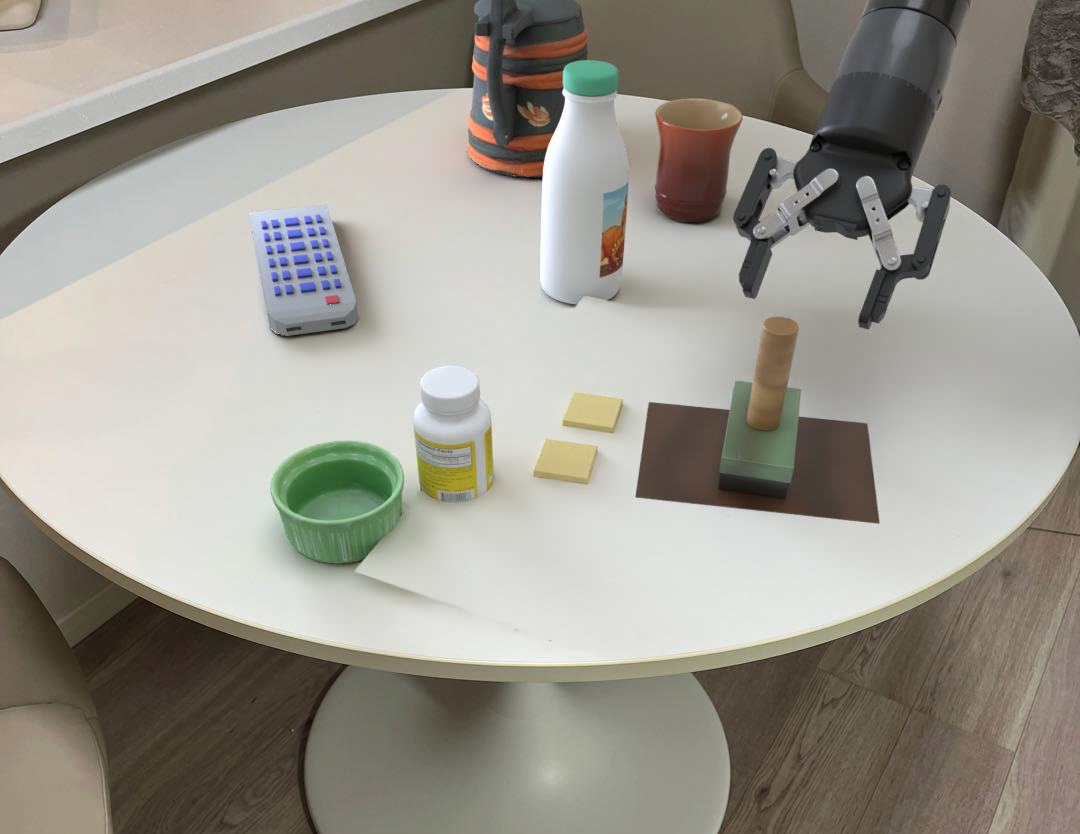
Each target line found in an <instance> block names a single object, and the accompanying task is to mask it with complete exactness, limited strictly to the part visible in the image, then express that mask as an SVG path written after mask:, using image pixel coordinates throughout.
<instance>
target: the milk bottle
mask: <svg viewBox="0 0 1080 834" xmlns="http://www.w3.org/2000/svg"><path fill="white" fill-rule="evenodd" d="M618 86H619V69H618V68H617V66H615V64H612V63H609V62H607V61H602V60H595V59H589V60H583V61H576V62H572V63H569V64H568V65H566V66H565V68H564V71H563V87H564V89H563V92H562V93H563V95H564V96H565V105H564V109H563V113H562V116H561V119H560V122H559V124H558V126H557V128H556V131H555V133H554V135H553V137H552V139H551V141H550V143H549V146H548V149H547V152H546V156H545V161H544V168H543V177H542V182H541V183H542V185H541V214H540V215H541V216H540V253H539V256H540V257H539V259H540V260H539V261H540V262H539V265H540V266H539V268H540V269H539V282H540V285H541V288H542V290H543V292H544V293H545V294H546V295H548V296H549V297H551V298H552V299H553V300H556V301H559V302H561V303H566V304H570V305H578V304H579V303H580V302H581V301H582V299H583V298H584V297H585V296H586V297H589V298H594V299H598V300H602V301H608V300H610V299H612V298H613V297H615V296H616V295H617V293H618V292H619V291H620V289H621V286H622V280H623V279H622V277H623V268H624V266H623V265H624V255H625V254H624V253H625V242H626V228H627V227H626V226H627V216H628V215H627V213H628V199H629V182H630V181H629V179H630V176H629V175H630V169H629V168H630V167H629V156H628V152H627V149H626V148H627V147H626V144H625V141H624V139H623V136H622V133H621V131H620V128H619V124H618V121H617V116H616V111H615V99H616V98H617V96H618Z"/></svg>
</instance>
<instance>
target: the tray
mask: <svg viewBox="0 0 1080 834" xmlns="http://www.w3.org/2000/svg"><path fill="white" fill-rule="evenodd" d="M729 412H730V409H727V408H715V407H707V406H705V407H704V406H696V405H695V406H694V405H686V404H685V405H684V404H674V403H664V402H656V401H655V402H654V401H649V402H648V405H647V413H646V418H645V426H644V432H643V440H642V448H641V454H640V460H639V461H640V462H639V469H638V475H637V483H636V488H635V497H634V498H637V499H646V500H653V501H654V500H655V501H663V502H664V501H665V502H674V503H683V504H690V505H691V504H693V505H703V506H710V507H711V506H712V507H719V508H728V509H729V508H730V509H738V510H747V511H755V512H756V511H758V512H765V513H776V514H785V515H794V516H804V517H812V518H821V519H830V520H831V519H832V520H841V521H849V522H850V521H851V522H860V523H869V524H870V523H871V524H877V525H878V524H880V515H879V507H878V500H877V491H876V484H875V475H874V467H873V459H872V451H871V444H870V435H869V427H868V423H867V422H858V421H849V420H848V421H847V420H839V419H829V418H828V419H827V418H819V417H818V418H816V417H808V416H807V417H806V416H799V419H798V430H797V441H796V452H795V463H794V471H793V475H792V480H791V483H789V486H788V491H787V495H786V499H781V498H774V497H768V496H761V495H755V494H748V493H741V492H735V491H728V490H722V489H718V486H719V479H720V472H719V470H720V464H721V458H722V452H723V446H724V440H725V435H726V429H727V423H728V418H729Z"/></svg>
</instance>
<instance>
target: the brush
mask: <svg viewBox="0 0 1080 834" xmlns="http://www.w3.org/2000/svg"><path fill="white" fill-rule="evenodd" d="M799 328H800V326H799V324H798V323H797V322H796V321H795V320H793V319H792V318H788V317H784V316H772V317H771V316H770V317H768V318H766V319H765V320H764V321H763V323H762V328H761V332H760V333H761V334H760V338H759V345H758V349H757V350H758V351H757V356H756V363H755V368H754V374H753V380H752V381H751V382H749V381H745V380H744V381H743V380H734V384H733V389H732V395H731V400H730V401H731V402H730V408H729V410H730V412H729V418H728V423H727V429H726V435H725V440H724V446H723V452H722V458H721V464H720V470H719V472H720V479H719V486H718V489H722V490H728V491H735V492H741V493H748V494H755V495H761V496H768V497H774V498H781V499H786V495H787V491H788V486H789V483H791V480H792V475H793V471H794V463H795V452H796V441H797V430H798V419H799V417H800V407H801V398H802V397H801V396H802V389H800V388H795V387H788V384H789V379H790V375H791V370H792V365H793V360H794V354H795V350H796V344H797V341H798V335H799V330H800V329H799Z"/></svg>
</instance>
